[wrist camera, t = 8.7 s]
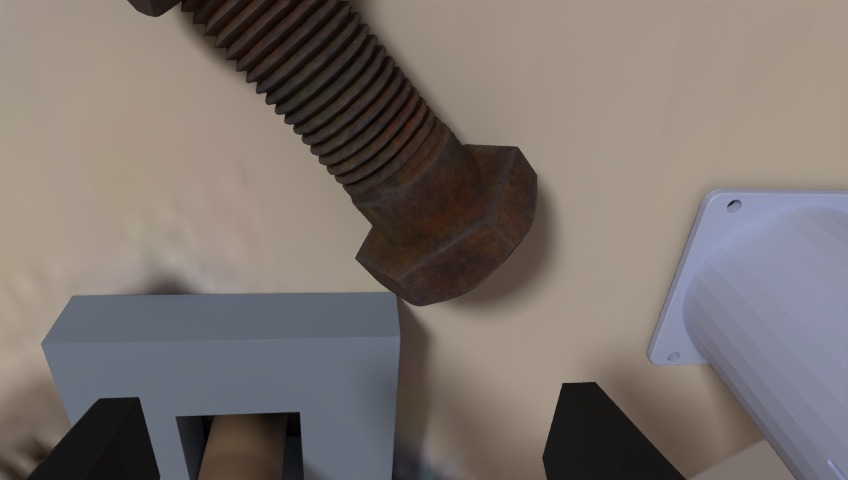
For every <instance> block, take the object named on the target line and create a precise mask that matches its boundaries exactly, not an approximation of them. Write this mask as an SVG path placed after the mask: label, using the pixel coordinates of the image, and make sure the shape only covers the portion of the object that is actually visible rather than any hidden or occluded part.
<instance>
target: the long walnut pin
mask: <svg viewBox="0 0 848 480" xmlns="http://www.w3.org/2000/svg"><path fill="white" fill-rule="evenodd" d="M288 413H289V412H279V413H252V414H225V415H214V417H213V421H212V425H211V429H210V433H209V437H208V441H207V445H206V449H205V453H204V457H203V461H202V465H201V469H200V473H199V477H198V480H281V477H282V468H283V459H284V449H285V440H286V431H287V422H288Z"/></svg>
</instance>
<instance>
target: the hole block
mask: <svg viewBox="0 0 848 480" xmlns="http://www.w3.org/2000/svg"><path fill="white" fill-rule="evenodd" d="M400 339H401V335H400V326H399V318H398V309H397V300H396V294H394V293H393V292H379V293H287V294H196V295H104V296H72V298H71V299H70V301H69V302H68V304H67V305H66V307H65V308H64V310H63V311H62V313H61V314H60V316H59V317H58V319H57V320H56V322H55V323H54V325H53V326H52V328H51V329H50V331H49V332H48V334H47V335H46V337H45V338H44V340H43V341H42V343H41V346H42V348H43V351H44V354H45V356H46V359H47V362H48V365H49V367H50V370H51V373H52V375H53V378H54V381H55V383H56V386H57V389H58V392H59V394H60V397H61V400H62V402H63V405H64V408H65V410H66V413H67V416H68V419H69V421H70V424H71V427H73V426H74V425H75V424H76V423H77V422H78V420H79V419H80V418H81V417H82V416H83V415H84V414H85V413H86V412H87V410H88V409H89V408H90V407H91V406H92V405H93V404H94V403H95V402H96V401H97V400H98V399H99V398H123V397H139V399H140V402H141V406H142V410H143V413H144V417H145V421H146V425H147V428H148V432H149V436H150V440H151V443H152V447H153V451H154V454H155V458H156V462H157V466H158V469H159V473H160V480H198V477H199V473H200V469H201V465H202V461H203V457H204V453H205V449H206V445H207V441H208V440H205V435H204V430H203V424H202V419H201V415H225V414H252V413H279V412H300V421H301V436H298V437H286V440H285V449H284V459H283V468H282V477H281V480H392V465H393V449H394V433H395V417H396V402H397V386H398V370H399V354H400Z"/></svg>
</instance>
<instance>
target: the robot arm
mask: <svg viewBox="0 0 848 480" xmlns="http://www.w3.org/2000/svg"><path fill="white" fill-rule="evenodd" d="M733 200H735V202H734V203H733V204H732V205H731V206H730V207H727V206H728V204H729V203H730V202H731V201H733ZM671 353H672V354H671ZM647 356H648V358H649V360H650V361H651V363H652V364H654V365H687V364H711V366H712V367H713V368H714V370H715V371H716V372H717V374H718V375H719V377H720V378H721V379H722V381H723V382H724V383H725V385H726V386H727V387H728V389H729V390H730V391H731V393H732V394H733V395H734V397H735V398H736V399H737V401H738V402H739V403H740V405H741V406H742V407H743V409H744V410H745V412H746V413H747V414H748V416H749V417H750V418H751V420H752V421H753V422H754V424H755V425H756V426H757V428H758V429H759V430H760V432H761V433H762V434H763V436H764V437H765V438H766V440H767V441H768V442H769V444H770V445H771V447H772V448H773V449H774V451H775V452H776V453H777V455H778V456H779V457H780V458H781V460H782V461H783V463H784V464H785V465H786V467H787V468H788V469H789V471H790V472H791V473H792V475H793V476H794V477H795V479H796V480H848V190H778V189H715V190H713V191H711V192H709V193H708V194H707V195H706V196H705V197H704V199H703V201H702V203H701V206H700V208H699V211H698V214H697V217H696V219H695V222H694V225H693V228H692V230H691V233H690V236H689V239H688V241H687V244H686V247H685V250H684V252H683V255H682V258H681V260H680V263H679V266H678V269H677V271H676V274H675V277H674V280H673V282H672V285H671V288H670V291H669V293H668V296H667V299H666V302H665V304H664V307H663V310H662V313H661V315H660V318H659V321H658V324H657V326H656V329H655V332H654V334H653V337H652V340H651V343H650V345H649V348H648V351H647ZM542 458H543V463H544V467H545V472H546V477H547V480H686V479H685V478H684V477H683V476H682V475H681V474H680V473H679V472H678V471H677V470H676V469H675V468H674V467H673V465H672V464H671V463H670V462H669V461H668V460H667V459H666V458H665V457H664V456H663V455H662V454H661V453H660V452H659V451H658V450H657V449H656V448H655V447H654V445H653V444H652V443H651V442H650V441H649V440H648V439H647V438H646V437H645V436H644V435H643V434H642V432H641V431H640V430H639V429H638V428H637V427H636V426H635V425H634V424H633V423H632V422H631V421H630V419H629V418H628V417H627V416H626V415H625V414H624V413H623V412H622V411H621V410H620V408H619V407H618V406H617V405H616V404H615V403H614V402H613V401H612V400H611V399H610V398H609V397H608V395H607V394H606V393H605V392H604V391H603V390H602V389H601V388H600V387H599V386H598V385H597V384H596V382H583V383H563V384H562V388H561V391H560V395H559V399H558V402H557V406H556V410H555V413H554V417H553V421H552V424H551V428H550V432H549V435H548V439H547V443H546V446H545V450H544V454H543V457H542ZM25 480H160V473H159V469H158V466H157V462H156V458H155V454H154V451H153V447H152V443H151V440H150V436H149V432H148V428H147V425H146V421H145V417H144V413H143V410H142V406H141V402H140V399H139V397H123V398H99V399H98V400H97V401H96V402H95V403H94V404H93V405H92V406H91V407H90V408H89V409H88V410H87V412H86V413H85V414H84V415H83V416H82V417H81V418H80V419H79V420H78V422H77V423H76V424H75V425H74V426H73V427H72V428H71V429H70V431H69V432H68V433H67V434H66V435H65V436H64V437H63V438H62V440H61V441H60V442H59V443H58V444H57V445H56V446H55V447H54V448H53V450H52V451H51V452H50V453H49V454H48V455H47V456H46V457H45V458H44V460H43V461H42V462H41V463H40V464H39V465H38V466H37V467H36V468H35V469H34V471H33V472H32V473H31V474H30V475H29V476H28V477H27V478H26V479H25Z"/></svg>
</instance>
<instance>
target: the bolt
mask: <svg viewBox="0 0 848 480" xmlns="http://www.w3.org/2000/svg"><path fill="white" fill-rule="evenodd" d="M127 1H128V2H129V3H130V4H131V5H132V6H133V7H134V8H135V9H136V10H137V11H139V12H141V13H143V14H145V15H148V16H153V17H158V16H160V15H162V14H164V13H165V12H167V11H168V10H170V9H171V8H173V7H174V6H176V5H177V4H178V3H179V2H181V1H182V8H181V11H183V12H194V17H193V24H205V31H204V36H216V42H215V48H227V50H226V58H225V59H226V60H237V65H236V71H237V72H239V71H247V78H246V82H247V83H251V82H257V87H256V93H257V94H261V93H265V92H266V93H267V95H266V100H265V101H266V104H267V105H271V104H276V107H275V113H276V114H278V115H282V114H285V119H284V122H285V123H286V124H289V125H292V124H294V128H293V130H294V132H295V133H296V134H299V135H301V134H303V136H302V141H303V143H304V144H307V145H311V148H310V152H311V153H312V154H314V155H317V156H318V155H319V162H320V163H321V164H323V165H325V166H327V170H328V172H329V173H330V174H331V175H335V179H336V181H337V182H339V183H341V184H343V188H344V190H345V191H346V192H347V193H348V194H349V195H350V196H351V198H352V202H353V204H354V205H355V206H356V207H357V209H358V210H359V211H360V212H361V213H362V214H363V215H364V216H365V217H366V218H367V220H368V221H369V222H370V223H371V224H372V225H373V226H372V228H371V230H370V232H369V233H368V235H367V237H366V239H365V241H364V242H363V244H362V246H361V248H360V250H359V252H358V253H357V255H356V257H355V259H356V260H357V261H358V262H359V263H360V264H361V265H362V266H363V267H364V268H365V269H366V270H367V271H368V272H369V273H370V274H371V275H372V276H373V277H374V278H375V279H376V280H377V281H378V282H379V283H381V284H382V285H383V286H384V287H386V288H387V289H388V290H390V291H391V292H393V293H394V294H396V295H397V296H399V297H401V298H402V299H404V300H405V301H407V302H408V303H410V304H412V305H415V306H426V305H430V304H434V303H438V302H442V301H446V300H449V299H452V298H455V297H457V296H460V295H463V294H465V293H466V292H468V291H470V290H472V289H474V288H475V287H477V286H478V285H479V284H481V283H482V282H484V281H485V280H486V279H487V278H488V277H489V276H490V275H491V274H492V273H493V272H494V271H495V270H496V269H497V268H498V267H499V266H500V265H501V264H502V263H503V262H504V261H505V260H506V259H507V258H508V257H509V256H510V255H511V253H512V252H513V251H514V250H515V248H516V247H517V246H518V245H519V243H520V242H521V241H522V240H523V238H524V237H525V236H526V234H527V233H528V231H529V230H530V227H531V224H532V222H533V219H534V215H535V211H536V203H537V174H536V173H535V171H534V170H533V168H532V167H531V165H530V164H529V162H528V161H527V159H526V158H525V156H524V155H523V154H522V152H521V151H520V149H519V148H518V147H513V146H493V145H472V144H465V145H463V146H462V145H461V143H460V142H459V141H458V139H457V138H456V137H455V135H454V134H453V133H452V131H451V130H450V129H449V127H448V126H447V125H446V124H444V123H442V122H440V120H439V119H438V118H437V117H435V116H434V114H433V112H432V111H431V109H430V108H429V107H428V106H426V101H425V100H424V99H423V98H422V97H419V93H418V91H417V90H416V89H415V88H414V87H411V81H410V80H409V79H408V78H405V77H403V75H404V74H403V72H402V71H401V69H400V68H399V67H394V64H395V61H394V59H393V57H389V56H385V54H386V48H385V46H380V45H377V46H376V44H377V40H378V38H377V36H376V35H367V34H368V31H369V26H368V24H359V22H360V19H361V16H360V14H359V13H358V12H353V13H350V10H351V7H352V4H351V1H340V0H127Z"/></svg>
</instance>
